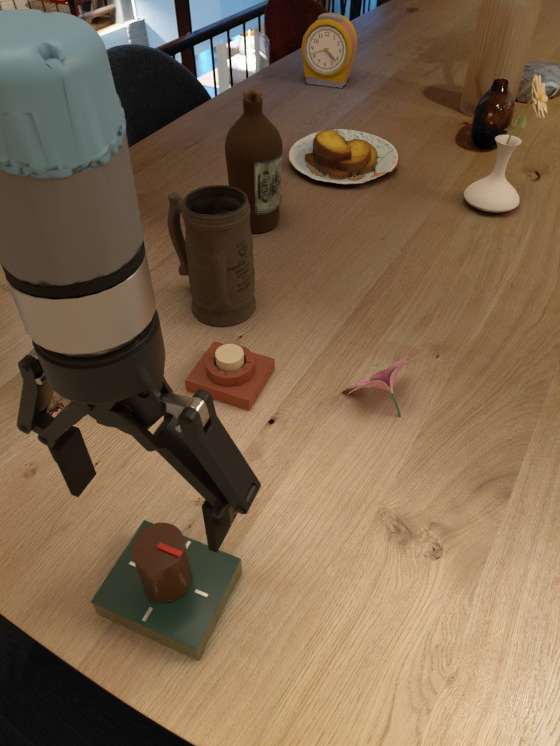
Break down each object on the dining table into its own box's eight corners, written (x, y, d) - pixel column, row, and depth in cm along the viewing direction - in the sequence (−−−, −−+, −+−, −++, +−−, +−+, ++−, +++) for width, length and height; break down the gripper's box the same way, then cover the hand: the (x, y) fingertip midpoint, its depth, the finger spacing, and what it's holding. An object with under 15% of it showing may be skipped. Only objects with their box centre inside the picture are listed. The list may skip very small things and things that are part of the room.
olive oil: (218, 221, 115) (208, 90, 97) (256, 203, 120) (253, 75, 102) (254, 241, 109) (251, 107, 92) (292, 221, 115) (296, 91, 97)
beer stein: (270, 298, 97) (262, 186, 83) (241, 335, 90) (226, 220, 76) (193, 280, 102) (173, 172, 88) (160, 314, 95) (133, 203, 81)
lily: (423, 381, 85) (406, 324, 81) (450, 417, 74) (431, 352, 70) (347, 409, 86) (327, 353, 82) (362, 447, 75) (340, 385, 71)
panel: (96, 613, 59) (89, 600, 57) (148, 533, 66) (143, 518, 63) (199, 661, 56) (195, 649, 54) (242, 571, 62) (241, 557, 60)
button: (210, 367, 80) (209, 358, 79) (223, 349, 82) (222, 340, 81) (236, 375, 79) (236, 366, 77) (248, 357, 81) (248, 348, 80)
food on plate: (417, 164, 134) (423, 136, 129) (350, 201, 121) (353, 172, 116) (335, 132, 146) (337, 106, 141) (266, 163, 133) (266, 135, 129)
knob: (133, 591, 58) (120, 557, 52) (159, 549, 61) (149, 513, 56) (176, 611, 56) (167, 577, 51) (200, 566, 59) (194, 531, 54)
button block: (186, 390, 81) (183, 371, 79) (214, 351, 87) (212, 331, 85) (249, 411, 79) (248, 391, 76) (274, 369, 85) (274, 349, 82)
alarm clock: (299, 84, 171) (301, 14, 158) (307, 75, 177) (310, 7, 164) (347, 90, 168) (354, 19, 155) (354, 81, 174) (360, 12, 161)
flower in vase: (493, 223, 115) (533, 93, 97) (450, 201, 121) (481, 75, 104) (533, 205, 120) (578, 79, 103) (490, 184, 127) (525, 62, 109)
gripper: (311, 333, 33) (300, 523, 48) (-23, 243, 40) (58, 434, 55) (259, 425, 28) (264, 605, 43) (-112, 304, 35) (4, 496, 50)
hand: (149, 510), depth 49 cm, fingers open, 13 cm apart
